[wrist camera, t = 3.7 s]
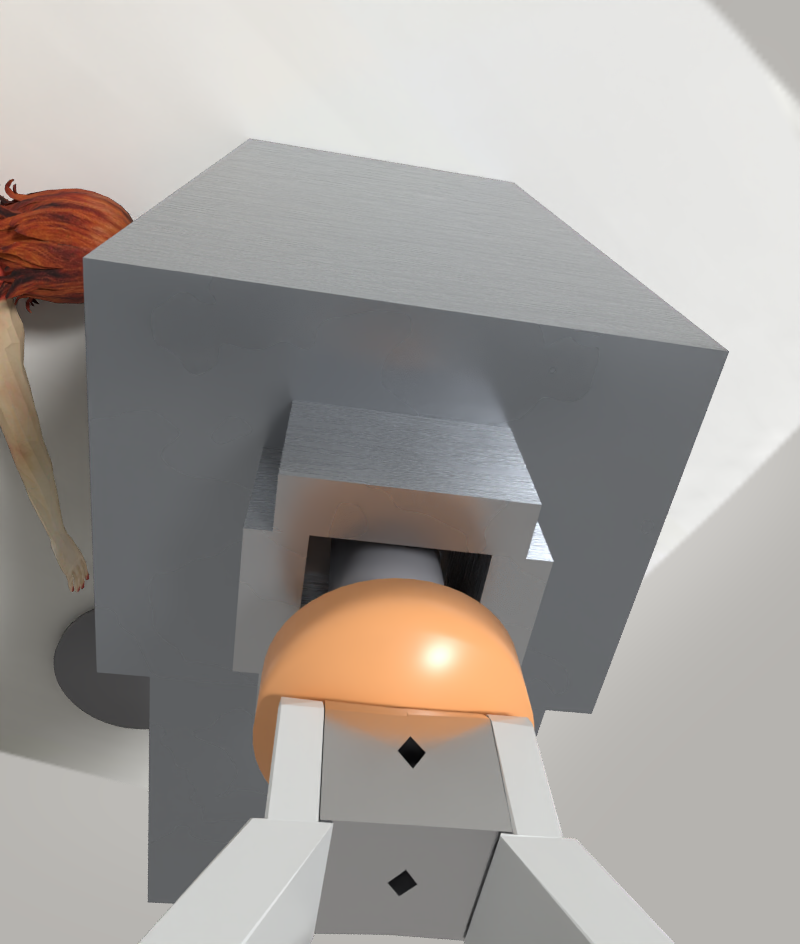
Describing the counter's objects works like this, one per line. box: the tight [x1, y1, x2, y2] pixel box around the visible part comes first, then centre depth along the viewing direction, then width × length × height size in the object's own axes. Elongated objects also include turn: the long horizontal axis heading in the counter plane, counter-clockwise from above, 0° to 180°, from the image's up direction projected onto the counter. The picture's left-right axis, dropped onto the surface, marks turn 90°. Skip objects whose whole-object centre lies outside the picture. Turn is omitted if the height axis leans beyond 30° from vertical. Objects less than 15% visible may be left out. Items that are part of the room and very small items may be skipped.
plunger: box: [253, 538, 534, 784], centre depth 11 cm, size 3×3×4 cm
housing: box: [83, 139, 729, 904], centre depth 22 cm, size 10×15×22 cm, turn 171°
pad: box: [54, 609, 150, 729], centre depth 39 cm, size 8×8×1 cm
